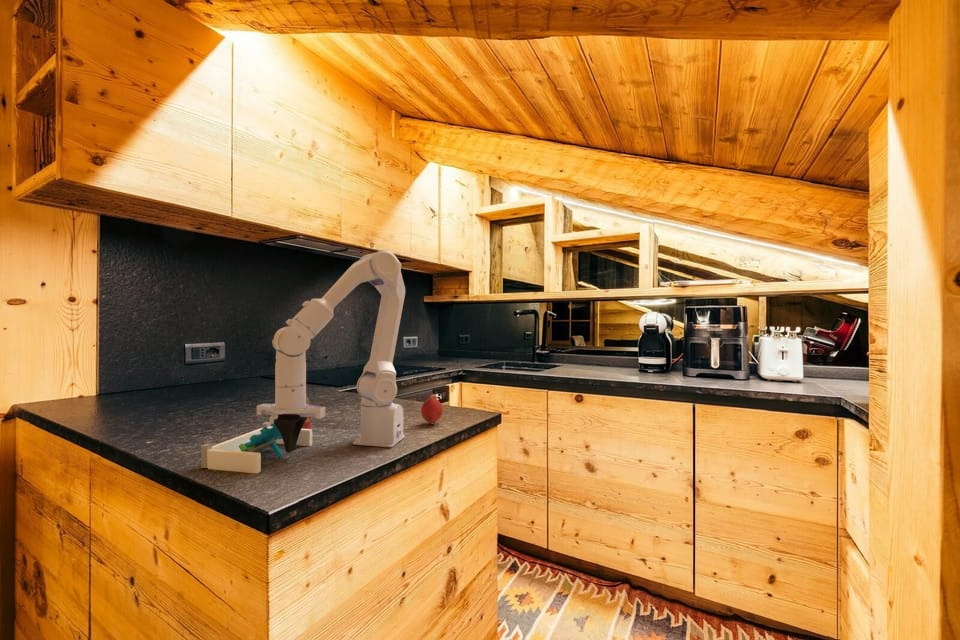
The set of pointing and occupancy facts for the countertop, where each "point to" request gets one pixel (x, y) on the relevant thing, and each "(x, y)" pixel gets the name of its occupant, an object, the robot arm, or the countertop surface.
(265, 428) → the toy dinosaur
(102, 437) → the countertop surface
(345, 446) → the countertop surface
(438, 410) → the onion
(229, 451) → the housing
